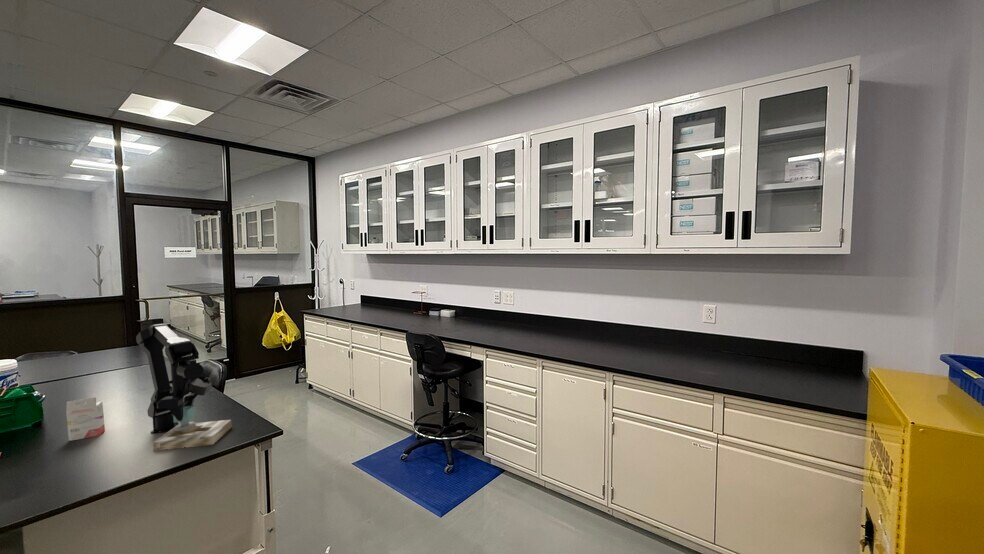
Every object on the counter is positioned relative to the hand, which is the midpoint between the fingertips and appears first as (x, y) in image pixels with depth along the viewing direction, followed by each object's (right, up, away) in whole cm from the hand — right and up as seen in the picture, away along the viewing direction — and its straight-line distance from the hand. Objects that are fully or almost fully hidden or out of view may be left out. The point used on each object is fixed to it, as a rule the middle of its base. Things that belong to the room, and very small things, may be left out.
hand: (184, 417), depth 137 cm
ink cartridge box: (-41, -9, +5) cm, 42 cm away
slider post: (0, -4, 0) cm, 4 cm away
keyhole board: (+3, -8, +1) cm, 9 cm away
